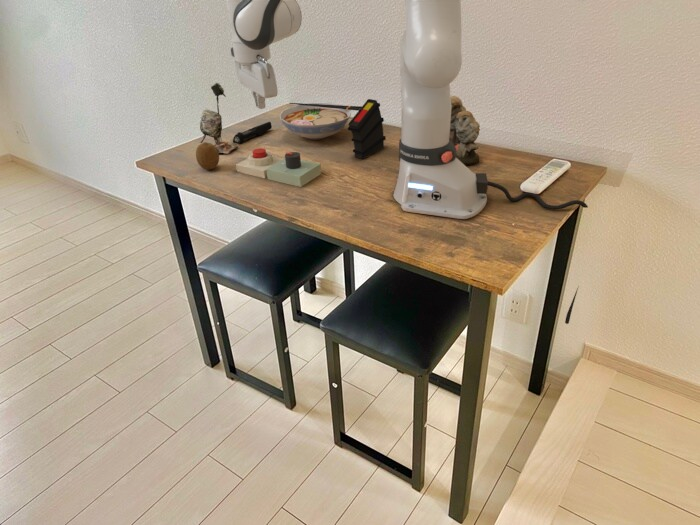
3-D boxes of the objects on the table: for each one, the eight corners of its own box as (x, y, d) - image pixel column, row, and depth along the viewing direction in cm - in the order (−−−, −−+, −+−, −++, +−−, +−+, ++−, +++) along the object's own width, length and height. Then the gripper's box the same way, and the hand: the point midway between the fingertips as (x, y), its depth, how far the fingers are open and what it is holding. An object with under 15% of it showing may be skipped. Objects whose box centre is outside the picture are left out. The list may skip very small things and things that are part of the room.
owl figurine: (410, 158, 149) (412, 98, 139) (428, 145, 157) (430, 87, 147) (470, 170, 140) (476, 107, 131) (485, 155, 149) (492, 95, 139)
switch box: (286, 166, 147) (284, 152, 145) (264, 178, 141) (262, 164, 138) (258, 160, 152) (257, 146, 150) (236, 171, 145) (234, 158, 143)
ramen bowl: (265, 143, 163) (261, 118, 158) (299, 121, 180) (296, 97, 176) (338, 153, 154) (337, 126, 150) (366, 128, 171) (365, 103, 167)
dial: (304, 164, 140) (302, 152, 138) (295, 170, 137) (294, 157, 135) (291, 162, 142) (290, 149, 140) (283, 167, 139) (281, 155, 137)
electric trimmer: (275, 131, 173) (274, 122, 171) (240, 145, 162) (239, 135, 161) (267, 129, 175) (266, 120, 173) (232, 143, 164) (230, 133, 163)
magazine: (391, 139, 157) (378, 99, 146) (368, 170, 153) (353, 131, 141) (381, 137, 159) (367, 97, 148) (358, 167, 155) (342, 129, 143)
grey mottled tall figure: (214, 143, 165) (202, 78, 154) (241, 149, 160) (231, 82, 149) (195, 152, 159) (181, 85, 148) (223, 158, 154) (211, 89, 143)
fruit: (196, 168, 148) (190, 141, 144) (218, 163, 151) (213, 136, 146) (202, 175, 144) (196, 148, 139) (224, 170, 146) (219, 143, 142)
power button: (269, 155, 145) (268, 149, 144) (260, 160, 142) (260, 154, 141) (259, 153, 146) (258, 147, 145) (250, 157, 144) (249, 151, 143)
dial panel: (321, 173, 142) (320, 163, 140) (300, 187, 135) (299, 176, 133) (289, 166, 147) (287, 156, 145) (267, 179, 140) (266, 168, 138)
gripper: (279, 57, 123) (286, 114, 131) (250, 44, 139) (258, 96, 146) (254, 61, 121) (263, 119, 128) (227, 47, 136) (237, 100, 144)
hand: (260, 107), depth 137 cm, fingers closed
